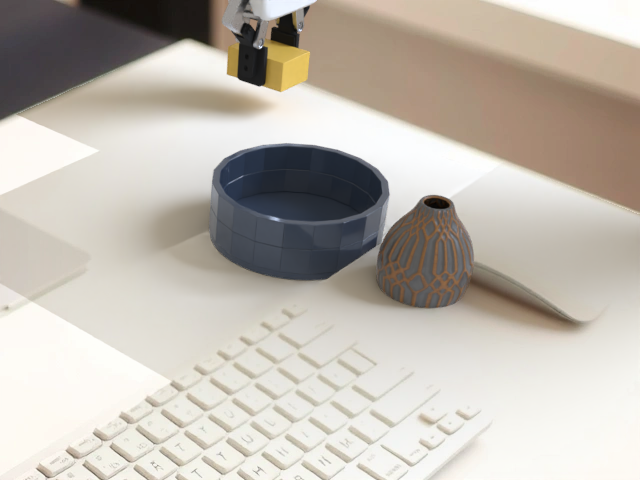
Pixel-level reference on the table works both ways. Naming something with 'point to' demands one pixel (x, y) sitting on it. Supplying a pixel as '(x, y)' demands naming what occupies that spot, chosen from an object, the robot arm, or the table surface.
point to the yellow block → (276, 65)
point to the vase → (426, 256)
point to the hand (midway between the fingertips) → (267, 73)
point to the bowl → (296, 209)
